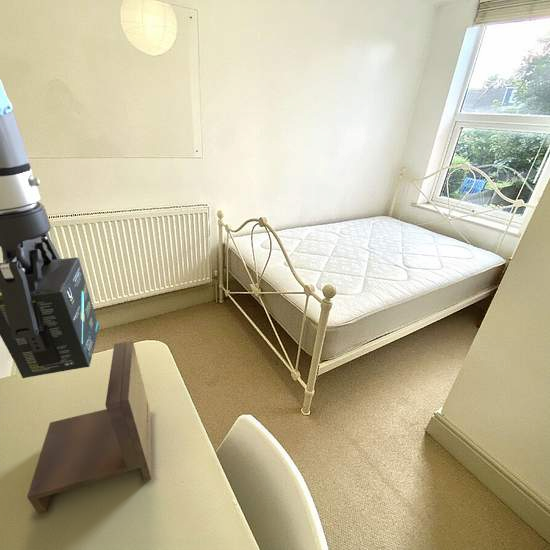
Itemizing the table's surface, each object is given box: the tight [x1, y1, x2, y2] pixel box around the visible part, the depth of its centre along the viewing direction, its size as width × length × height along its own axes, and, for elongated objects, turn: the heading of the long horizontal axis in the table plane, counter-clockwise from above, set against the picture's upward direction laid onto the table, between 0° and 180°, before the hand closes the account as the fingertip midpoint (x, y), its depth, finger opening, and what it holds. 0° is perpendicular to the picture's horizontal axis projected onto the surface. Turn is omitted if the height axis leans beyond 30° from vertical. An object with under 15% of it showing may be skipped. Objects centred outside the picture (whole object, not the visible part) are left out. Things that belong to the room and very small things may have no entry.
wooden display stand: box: [26, 340, 152, 515], centre depth 55 cm, size 18×14×23 cm
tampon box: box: [0, 257, 100, 379], centre depth 48 cm, size 11×9×15 cm
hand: (59, 337), depth 50 cm, fingers closed on tampon box, 11 cm apart
